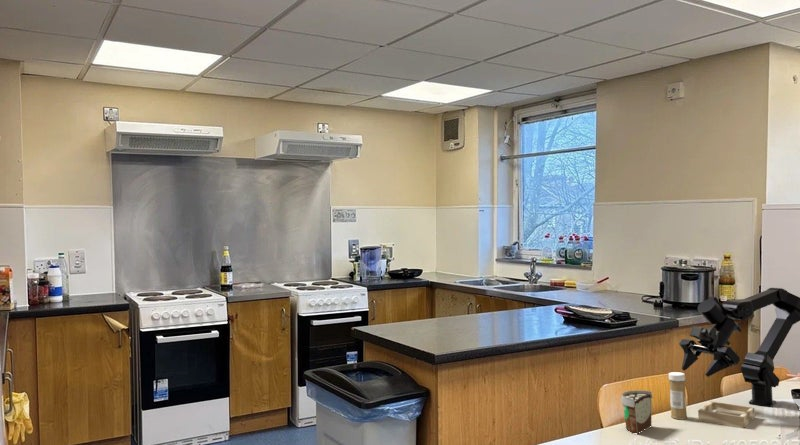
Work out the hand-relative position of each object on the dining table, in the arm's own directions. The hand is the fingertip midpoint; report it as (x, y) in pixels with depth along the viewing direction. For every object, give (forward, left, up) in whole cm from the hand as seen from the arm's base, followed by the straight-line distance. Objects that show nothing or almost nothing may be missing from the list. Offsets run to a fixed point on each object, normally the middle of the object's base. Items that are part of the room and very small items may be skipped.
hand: (694, 372), depth 187 cm
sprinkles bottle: (+6, -3, -13) cm, 15 cm away
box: (0, +8, -13) cm, 15 cm away
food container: (+24, -10, -13) cm, 29 cm away
